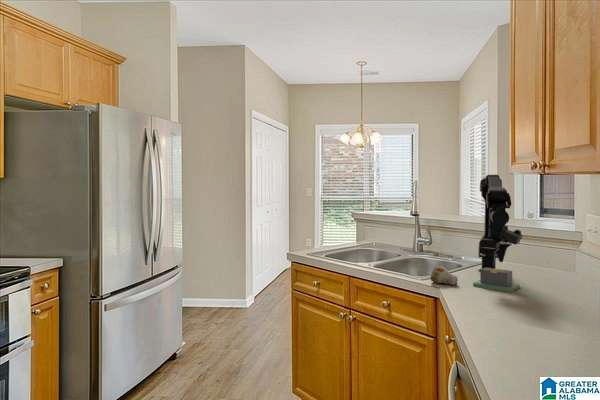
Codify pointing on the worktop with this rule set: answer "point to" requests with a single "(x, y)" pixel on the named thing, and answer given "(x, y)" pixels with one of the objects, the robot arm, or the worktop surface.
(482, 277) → the block
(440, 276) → the grey lumpy rounded lump
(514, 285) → the board
